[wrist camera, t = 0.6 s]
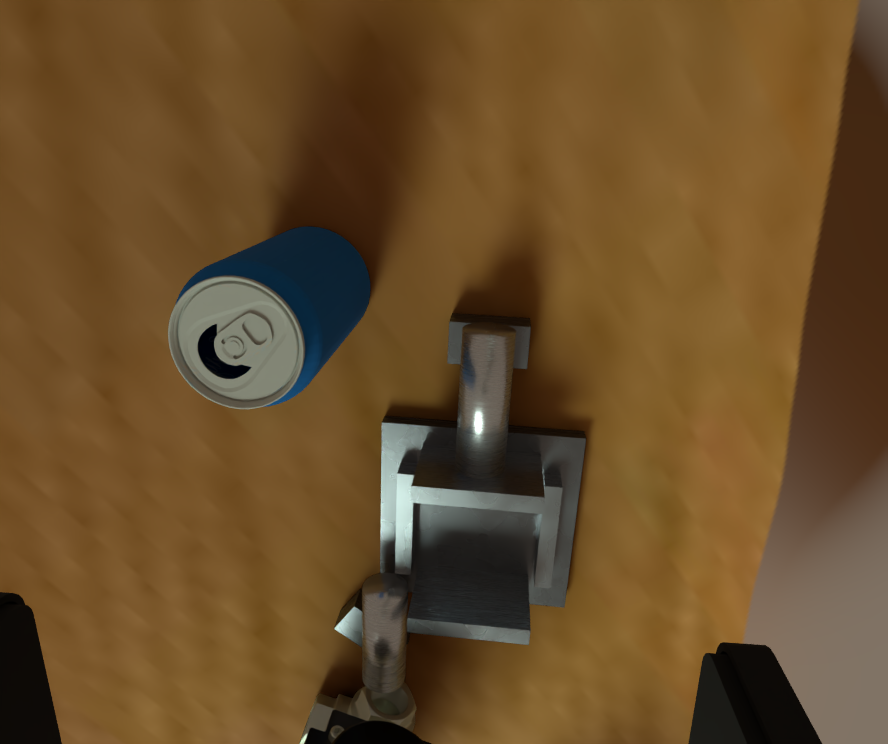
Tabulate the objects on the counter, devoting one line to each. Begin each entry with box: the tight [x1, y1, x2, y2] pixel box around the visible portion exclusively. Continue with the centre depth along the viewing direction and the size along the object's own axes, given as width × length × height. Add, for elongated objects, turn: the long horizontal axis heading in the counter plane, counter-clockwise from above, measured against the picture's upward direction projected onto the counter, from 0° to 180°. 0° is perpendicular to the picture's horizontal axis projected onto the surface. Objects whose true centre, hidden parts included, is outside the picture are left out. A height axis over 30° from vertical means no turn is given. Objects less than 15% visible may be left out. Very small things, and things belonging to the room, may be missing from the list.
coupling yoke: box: [334, 313, 586, 693], centre depth 39 cm, size 24×15×6 cm, turn 177°
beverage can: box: [168, 227, 370, 409], centre depth 32 cm, size 6×6×12 cm
